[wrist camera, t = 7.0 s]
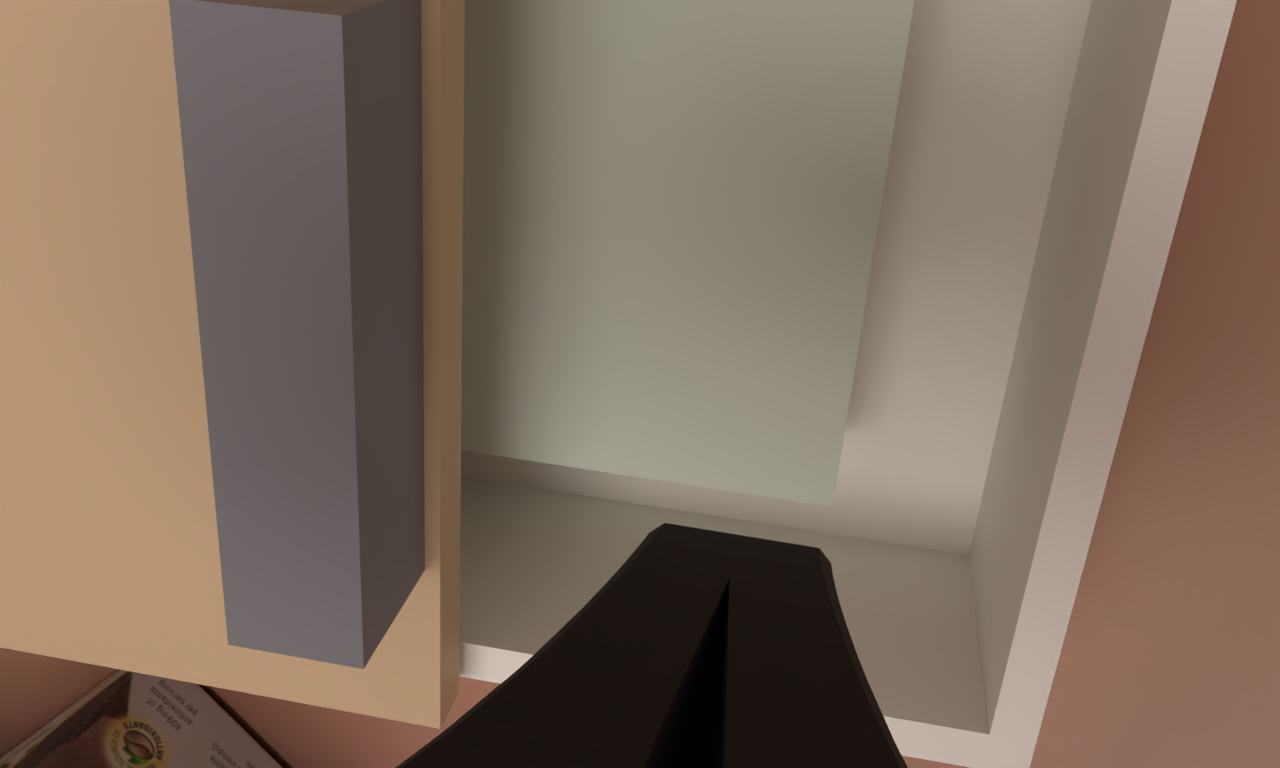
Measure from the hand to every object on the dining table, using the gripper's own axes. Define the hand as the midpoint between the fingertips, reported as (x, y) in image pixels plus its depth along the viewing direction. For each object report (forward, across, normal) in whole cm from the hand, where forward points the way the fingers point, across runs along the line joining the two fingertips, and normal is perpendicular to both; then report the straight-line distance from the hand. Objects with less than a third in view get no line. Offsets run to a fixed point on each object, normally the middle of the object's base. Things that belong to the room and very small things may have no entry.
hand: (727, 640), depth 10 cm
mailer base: (+10, +3, -1) cm, 11 cm away
